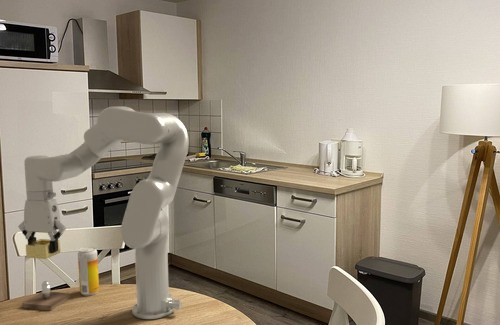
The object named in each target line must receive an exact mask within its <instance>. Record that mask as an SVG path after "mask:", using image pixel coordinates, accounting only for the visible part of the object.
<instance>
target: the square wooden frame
mask: <svg viewBox="0 0 500 325" xmlns="http://www.w3.org/2000/svg"><path fill="white" fill-rule="evenodd" d="M50 241H51V239H50V238H49V239H47V238H45V239H44V238H39V239H36V241H35V242H32V243H30V244H28V243H27V244H25V254H26V258H27V259H36V260H37V259H39V260H40V259H41V260H47V259H48V260H49V259H50V258H52V257H54V256H56V255H58V254H59V253H61V241H60V239H58V251H57V252H55V253H50Z"/></svg>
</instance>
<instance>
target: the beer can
mask: <svg viewBox="0 0 500 325" xmlns="http://www.w3.org/2000/svg"><path fill="white" fill-rule="evenodd" d="M77 261H78V262H77V263H78V277H79V279H78V280H79V282H78V283H79V293H80V294H81V295H82V296H85V297H88V296H93V295H96V294H97V293H98V292H99V290H100V284H99V282H100V281H99V280H100V279H99V262H98V251H97V249H96V247H93V246H86V247H82V248H79V250H78V252H77Z"/></svg>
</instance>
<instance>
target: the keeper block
mask: <svg viewBox="0 0 500 325" xmlns="http://www.w3.org/2000/svg"><path fill="white" fill-rule="evenodd" d="M69 299H71V293H69V292H58V291H51V283H50V281H48V280H45V281H43V282H42V283H41V292H39V293H37V294H35V295H34V296H32V297H30V298H29V299H27V300H26V301H24V302H22V308H23V309H28V308H29V309H31V310H40V311H41V310H42V311H49V312H50V311H53V310H54V309H56V308H57V307H59V306H60V305H62V304H63V303H64V302H66V301H68V300H69Z"/></svg>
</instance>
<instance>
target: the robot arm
mask: <svg viewBox="0 0 500 325" xmlns="http://www.w3.org/2000/svg"><path fill="white" fill-rule="evenodd" d="M188 134H189V133H188V131H187V128H186V126H185V124H184V123H183V122H182V121H181V120H180V119H179V118H178V117H177V116H175V115H173V114H171V113H167V112H156V113H148V112H147V113H146V112H140V111H136V110H135V109H133V108H131V107H128V106H125V105H124V106H123V105H122V106H109V107H106V108H103V109H102V111H100V113H99V114H98V116H97V118H96V123H95V124H94V125H93V126H91V127H90V128H88V129H87V130H85V131H84V134H83V140H84V142H83V143H82V144H81V145H79V146H78V147H76V148H75V149H74V150H72V151H71V152H69V153H68V154H67V153H66V154H61V155H60V154H59V155H56V156H51V157H50V156H47V155H30V156H27V157H26V158H24V160H23V161H24V162H23V164H24V165H23V166H24V175H25V177H24V178H25V191H26V192H25V193H26V200H25V202H24V210H23V221H22V222H20V224H19V225H18V229H19V230H20V231H21V233H22V234H23V235H24V237H25V240H27V244H30V243H32V242H35V241H37V237H36V236H35V235H36V233H42V234H43V233H46V234H47V235H48V237H49V239H50V240H51V241H50V253H55V252H57V251H58V240H60V237H61V236H62V235H63V233H64V232H65V231H66V229H67V227H66V226H65V225H64V224H63V223H62V222H61V217H60V211H59V210H60V209H59V206H58V202H57V199H56V195H57V194H56V192H55V191H54V188H53V182H54V183H55V182H61V181H65V180H67V179H71V178H75V177H78V176H80V175H81V174H83V173H85V172H86V171H88V170H89V169H91V168H92V167H93V166H94V165H95V164H97V163H98V162H99V161H100V160H101V159H102V158H103V157H104V155H105V154H106V153H108V152H109V151H111V150H112V149H113V148H114V147H116V146H118V145H119V144H120V143H122V142H123V141H125V142H129V143H130V142H131V143H136V144H141V145H142V144H143V145H158V144H159V148H158V150H157V153H156V154H155V158H154V161H153V164H152V167H151V170H150V173H149V174H148V177H147V178H145V179H141V180H140V181H139V182H137V183H136V184H135V185H134V187H133V189H132V191H131V193H130V195H129V198H128V202H127V205H126V208H125V212H124V215H123V219H122V222H121V226H120V236H121V239H122V242H123V243H124V244H125V245H126V246H127V247H129V248H130V249H132V250H133V249H134V250H135V251H134V261H135V262H134V263H135V264H134V265H135V266H134V267H135V286H136V288H135V290H136V304H134V306H132V308H131V312H132V316H134V317H136V318H138V319H140V320H141V319H142V320H157V319H161V318H164V317H167V316H169V315H170V314H172V313H173V312H174V310H175V309H176V310H181V309H182V302H181V299H176V298H175V299H174V298H173V294H172V293H170V292H169V290H170V288H169V287H170V286H169V285H170V284H169V262H168V260H169V259H168V258H169V257H168V256H169V255H168V252H169V251H168V243H169V242H168V240H169V232H170V223H169V218H168V216H167V214H166V213H165V212H164V210H162V209H163V208H165V207H167V206H169V204H171V203H172V202H173V200H174V198H175V197H176V196H175V195H176V193H177V189H178V185H179V182H180V179H181V176H182V173H183V168H184V166H185V161H186V158H187V155H188V150H189V147H190V145H189V141H190V139H189V135H188ZM54 197H55V198H54Z"/></svg>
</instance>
